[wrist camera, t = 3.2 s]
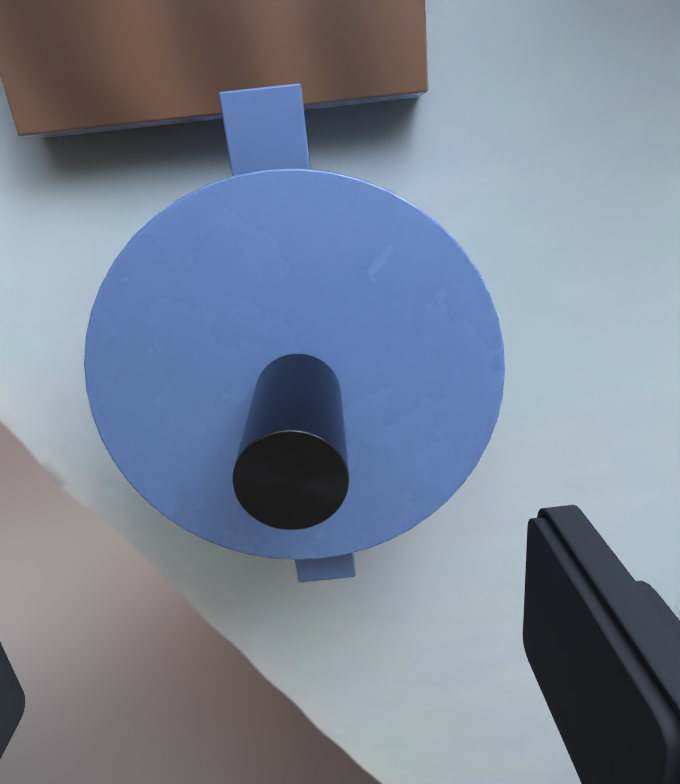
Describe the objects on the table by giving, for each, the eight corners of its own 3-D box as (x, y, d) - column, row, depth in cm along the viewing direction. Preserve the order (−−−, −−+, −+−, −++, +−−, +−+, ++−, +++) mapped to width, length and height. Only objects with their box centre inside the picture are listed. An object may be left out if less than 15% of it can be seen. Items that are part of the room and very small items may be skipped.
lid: (497, 144, 17) (603, 135, 10) (492, 520, 22) (561, 661, 16) (43, 193, 17) (-117, 213, 10) (150, 557, 22) (85, 711, 16)
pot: (429, 93, 23) (486, 59, 15) (440, 467, 30) (484, 575, 22) (125, 126, 23) (27, 108, 15) (208, 492, 30) (171, 608, 22)
